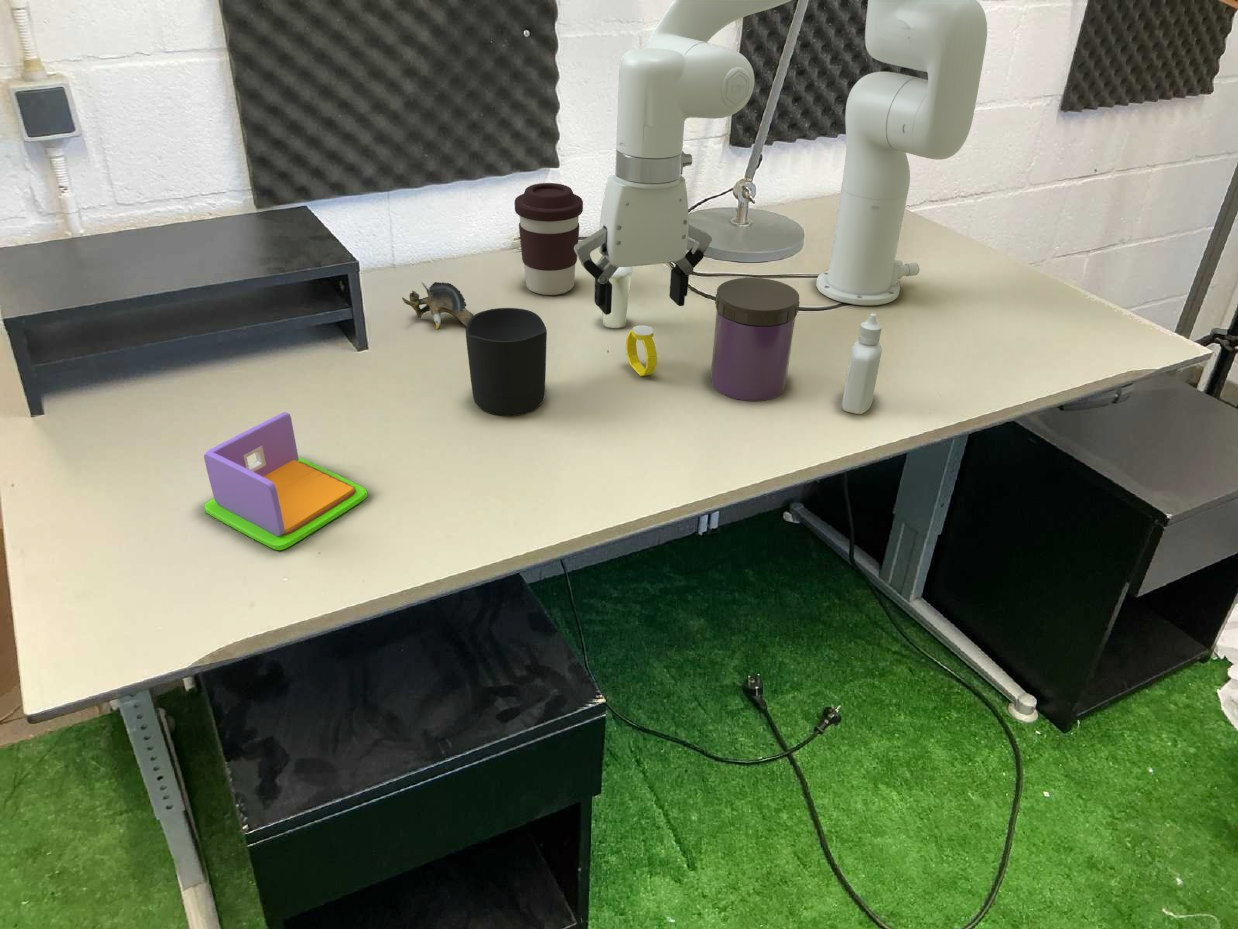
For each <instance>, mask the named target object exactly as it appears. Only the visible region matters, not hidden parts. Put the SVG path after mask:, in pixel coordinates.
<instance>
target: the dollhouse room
mask: <svg viewBox="0 0 1238 929" xmlns="http://www.w3.org/2000/svg"><path fill="white" fill-rule="evenodd" d="M254 454H255V460H256V461H254V462H252V463H250V464H249V461H248V457H251V456H253V455H254ZM203 460H204V464H205V467H206V468H205V469H206V472H207V476H208V481H209V484H210V488H211V492H212V496H213V498H212V499H210V500H209V501H207V502H206V503H205V504H204V511H205V513H207V514H208V515H209V516H211V517H213V518H214V519H216V520H218V521H219V522H222V523H223V524H225V525H227V526H229V527H231V528H232V529H234V530H236V531H238V532H239V533H242V534H243V535H245V536H247V537H249V538H251V539H253V540H255V541H256V542H258V543H260V544H262V545H264V546H266V547H268V548H270V549H272V550H276V551H283V550H286V549H288V548H290V547H292V546H293V545H295V544H297V543H298V542H300V541H301V540H303V539H305V538H307V537H308V536H310V535H311V534H313V533H314V532H317V531H318V530H319V529H321V528H322V527H324V526H325V525H327V524H329V523H330V522H332V521H334V520H335V519H337V518H338V517H340V516H341V515H343V514H344V513H346V512H347V511H350V510H352V509H353V508H354V507H355V506H357V505H358V504H360V503H362V502H363V501H365V499H366V498H367V497H368V491H367V489H366V488H365V487H363V486H361V485H360V484H358V483H356V482H353V481H351V480H349V479H347V478H345V477H343V476H341V475H339V474H337V473H335V472H333V471H330V470H328V469H326V468H324V467H322V466H320V465H317V464H315V463H313V462H311V461H309V460H306V459H304V458H301V457H299V454H298V447H297V442H296V437H295V431H294V425H293V421H292V416H291V413H289V412H286V411H283V412H281V413H279V414H277V415H275V416H273V417H271V418H269V419H267V420H265V421H263V422H261V423H259V424H257V425H255V426H252V427H251V428H249V429H247V430H245V431H243V432H241V433H239V434H237V435H235V436H233V437H232V438H229V439H227V440H225V441H223V442H221V443H220V444H217V445H216V446H214V447H212V448H210V449H209V450H207V451H205V453H204V454H203Z"/></svg>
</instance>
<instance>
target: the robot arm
mask: <svg viewBox="0 0 1238 929" xmlns="http://www.w3.org/2000/svg"><path fill="white" fill-rule="evenodd" d="M791 1H792V0H673V1H672V2H671V3H670V5H669V6H668V7H667V8H666V10H665V12H664V13H663V14H662V16H661V18H660V19H659V21H658V23H657V25H656V26H655V28H654V29H653V31H652V32H651V34H650V36H649V37H648V39H647V42H646V44H645V45H644V47H638V48H632V49H630V50H628V51H626V52H625V53H623V55H622V57H621V59H620V62H619V69H618V92H617V116H616V117H617V118H616V147H615V170H614V171H615V174H612V175H609V176H608V177H607V180H606V184H605V188H604V193H603V199H602V205H601V212H600V218H599V219H600V220H599V228H598V230H597V231H595V232H594V233H592V234H590V235H589V236H587V237H586V238H584V239H582V240H581V241H578V244H576V245H575V246H574V251H575V253H576V254H577V259H578V260H579V262H580V264H581V266H582V267H583V268H584V269H585V270H586V272H587V273H589V274H590V275H591V276H592V277H593V278H594V295H593V296H594V297H593V298H594V304H595V305H596V306H597V307H598V308H599V309H600V311H601V313H602V312H603V313H604V314H605V315H607V314H610V313H611V307H612V284H611V283H610V282H609V279H610V278H611V276H612V275H613V274H614V273H615V271H616V270H617V269H618V268H619V267H632V268H633V267H641V266H642V267H643V266H651V265H661V264H671V263H674V266H672V269H670V279H669V280H670V281H669V293H668V294H669V295H668V296H669V298H670V300H672V302H674V303H675V305H677V306H679V307H681V306H682V307H684V306H685V300H686V297H687V296H688V289H689V280H690V279H689V277H690V275H692V274H693V273H694V269H695V268H696V267H697V265H699V263H700V262H701V261H702V260H703V259H704V256H705V253H706V252H707V251H708V248H709V246H710V244H711V242H712V241H713V237H712V236H711V235H710V234H709V233H707V232H705V231H704V230H701V229H700V228H697V227H696V226H693V225H692V224H689V222H690V221H689V220H690V216H689V200H688V199H689V198H688V191H687V184H686V183H687V182H686V178H685V177H683V172H684V171H683V170H684V168H686V167H691V166H692V165H693V155H692V154H691V153H685V152H684V151H683V146H684V134H685V133H684V132H685V121H686V120H687V119H689V118H690V119H692V118H693V119H695V118H696V119H713V120H714V119H724V118H728V117H730V116H732V115H735V114H736V113H738V112H740V111H741V110H742V109H743V108H744V107H745V106H746V105H747V104H748V102H749V101H750V100H751V97H752V95H753V91H754V89H755V88H754V87H755V73H754V69H753V67H752V64H751V63H750V61H749V60H748V59H747V58H746V57H745V56H744V55H743V54H742V53H740V52H738V51H737V50H735V49H733V48H730V47H727V46H722V45H718V44H715V43H710V42H709V41H710V40H711V39H712V38H713V37H714V36H715V35H717V33H718V32H720V31H721V30H722V29H724V28H725V27H727V26H728V25H730V24H731V23H734V22H735V21H738V20H739V19H742V18H744V17H747V16H751V15H754V14H757V13H760V12H761V13H762V12H764V11H767V10H770V9H773V8H776V7H779V6H781V5H784V4H786V3H789V2H791ZM987 39H988V22H987V17H986V13H985V10H984V8H983V6H982V5H981V3H980V2H979V1H978V0H867V8H866V19H865V29H864V43H865V44H864V45H865V48H866V51H867V53H868V55H869V56H870V57H871V58H873V59H874V60H876V61H878V62H882V63H885V64H888V65H893V66H896V67H902V68H904V69H905V68H906V69H909V70H915V71H919V72H925V73H927V79H925V78H921V77H918V76H913V75H908V74H904V73H899V72H892V71H876V72H875V71H874V72H871V73H868V74H866V75H863V76H862V77H861V78H860V79H859V80H857V81H856V83H855V84H853V86H852V88H851V90H850V92H849V94H848V97H847V100H846V105H845V115H844V116H845V117H844V118H845V120H844V121H845V123H844V124H845V138H846V139H845V140H846V141H845V156H844V157H845V158H844V166H843V175H842V180H841V187H840V192H839V193H840V194H839V199H838V207H837V213H836V219H835V225H834V233H833V239H832V246H831V252H830V259H829V265H828V270H825V271H823V272H821V273H820V274H819V275H818V276H817V278H816V282H815V285H816V288H817V290H818V291H819V293H821V294H822V295H824V296H825V297H827V298H829V299H831V300H834V301H837V302H840V303H844V304H847V305H848V304H849V305H856V306H880V305H885V304H888V303H889V304H890V303H891V302H893V301H895V300H896V299H898V298H899V296H900V290H901V286H900V284H899V283H898V280H901V279H902V277H912V276H918V275H919V273H920V265H919V263H917V262H909V263H905V264H903V261H902V260H901V259H896V258H897V251H898V246H899V241H900V236H901V231H902V226H903V221H904V216H905V211H906V204H907V200H908V194H909V189H910V183H911V168H910V164H909V159H908V156H907V154H909V155H912V156H916V157H920V158H925V159H930V160H937V161H939V160H946V159H949V158H952V157H953V156H955V155H956V154H957V153H958V152H959V151H960V150H961V149H962V148H963V146H964V145H965V142H966V141H967V138H968V136H969V134H970V131H971V129H972V128H971V127H972V124H973V120H974V116H975V110H976V105H977V100H978V93H979V92H978V91H979V89H980V88H979V87H980V81H981V75H982V71H983V66H984V59H985V53H986V46H987V41H988V40H987ZM689 238H690V239H691V240H694V244H693V247H691V248H690V249H689V250H688V245H689ZM596 249H598V253H599V254H600V255H602V256H600V258H599V259H598V261H597V262H596V263H595V262H594V261H593V260H592V257H591V253H592V252H593V251H595V250H596ZM687 250H688V251H687Z"/></svg>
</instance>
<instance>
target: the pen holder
mask: <svg viewBox="0 0 1238 929" xmlns="http://www.w3.org/2000/svg"><path fill="white" fill-rule="evenodd" d="M473 315H474V316H472V318H471V319H470V320H469V322H468V324H467V326H465V341H466V349H467V350H466V351H467V359H468V368H469V377H470V386H471V392H472V398H473V402H474V403H475V405H476V406H477V407H478V408H479V409H480V410H482V411H483V412H486V413H488V414H491V415H495V416H502V417H503V416H505V417H511V416H520V415H525V414H528V413H530V412H532V411H534V410H536V409H537V408H538V407H540V405H541V404H542V403H543V402H544V400H545V394H546V376H547V374H546V373H547V372H546V369H547V336H548V332H547V327H546V325H545V323H544V321H543V319H542V318H541V317H540V315H538V314H537V313H535V312H534V311H532V310H530V309H524V308H518V307H499V308H498V307H497V308H491V309H487V310H483V311H479V312H477V313H475V314H473Z"/></svg>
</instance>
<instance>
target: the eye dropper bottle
mask: <svg viewBox="0 0 1238 929" xmlns="http://www.w3.org/2000/svg"><path fill="white" fill-rule="evenodd" d="M882 330H883V327H882V324H880V323H878V321H877V314H876V313H870V314H869V316H868V318H867V320H866V321H863V322H861V323H860V327H859V331H858V332H859V333H858V338H857V340H856V342H855V343H854V344H853V345H852V347H851V350H850V353H849V354H850V355H849V360H848V366H847V372H846V377H845V383H844V389H843V394H842V400H841V408H842V410H843V411H844V412H847V413H851V414H856V415H863V414H864V413H866V412H867V411H868V410H869V409H870V408H871V406H872V403H873V400H874V394H875V389H876V383H877V378H878V374H879V373H878V372H879V368H880V363H881V358H882V353H883V349H882V348H883V347H882V344H881V342H880V338H881V333H882Z"/></svg>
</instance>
